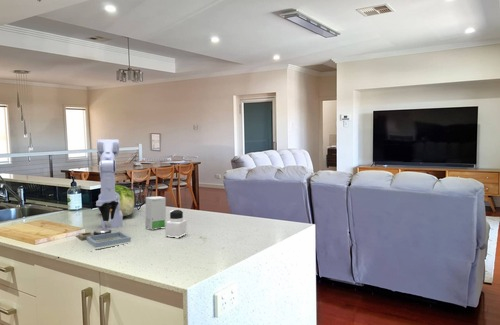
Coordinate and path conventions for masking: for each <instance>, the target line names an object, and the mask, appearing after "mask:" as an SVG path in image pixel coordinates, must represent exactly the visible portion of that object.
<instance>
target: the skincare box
mask: <svg viewBox="0 0 500 325" xmlns="http://www.w3.org/2000/svg"><path fill="white" fill-rule="evenodd" d="M166 201H167V199H166V197H164V196H160V195H159V196H146V197H145V221H144V222H145V225H144V226H145V227H146V228H145V229H147V228H149V229H155V228H161V227H165V228H166V219H167V218H166ZM149 229H148V230H149Z"/></svg>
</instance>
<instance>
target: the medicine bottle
mask: <svg viewBox="0 0 500 325" xmlns="http://www.w3.org/2000/svg"><path fill="white" fill-rule="evenodd" d="M183 214H184V211H182V210H181V209H172V210H170V211H169V217H168V218H169V220H167V221H165V236H166V235H170V236H180V235H182V234H184V233H186V234H187V219H184V218H183V217H184V215H183Z"/></svg>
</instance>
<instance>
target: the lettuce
mask: <svg viewBox="0 0 500 325" xmlns="http://www.w3.org/2000/svg"><path fill="white" fill-rule="evenodd" d="M115 192H116V193H118V194H119V198H120V209H119V210H121V212H122V215H123V218H124V217H126V216H129V215H131V214H132V213H133V212H134V210H135V204H136V201H135V200H136V199H135V195H134V192H133V191H132V190H131V189H130V188H128V186H125V185H121V184H115ZM117 210H118V209H117Z"/></svg>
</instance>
